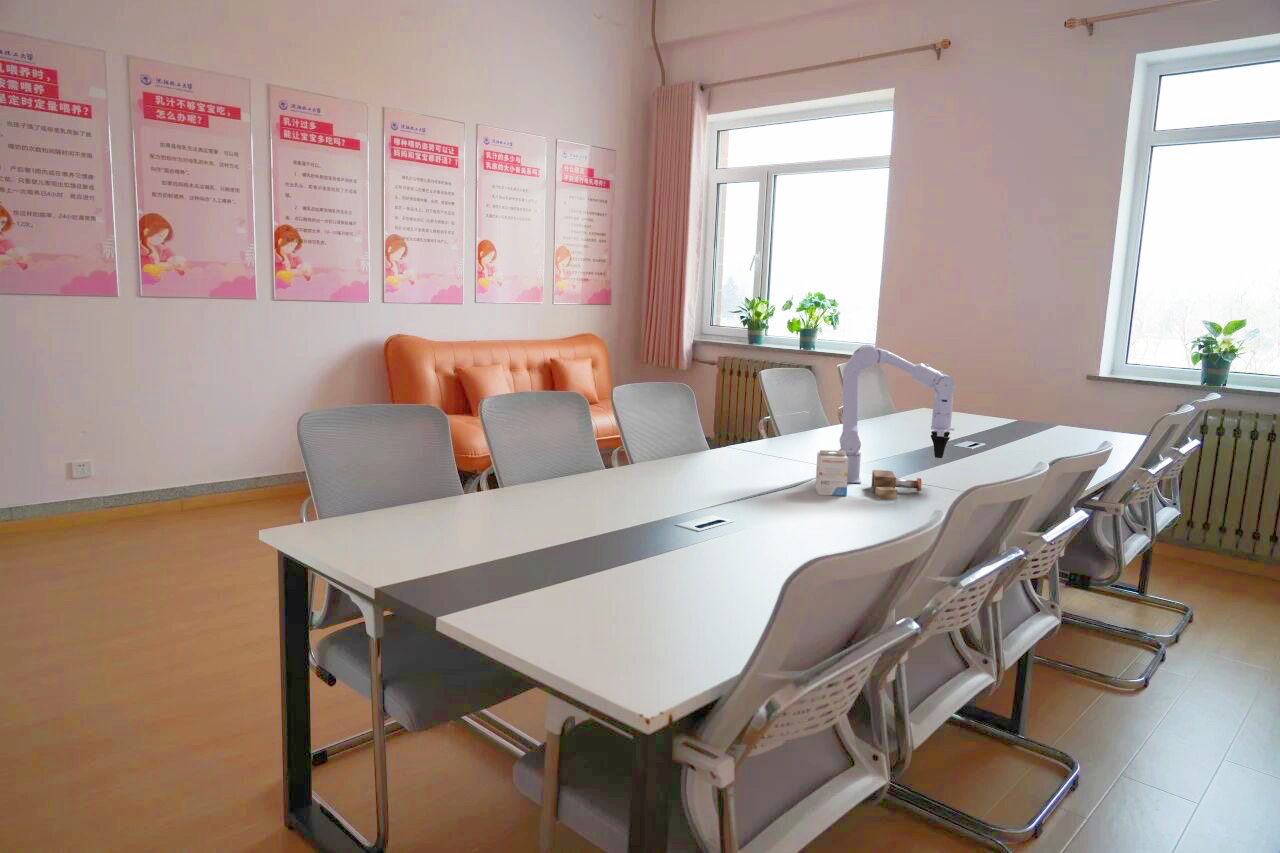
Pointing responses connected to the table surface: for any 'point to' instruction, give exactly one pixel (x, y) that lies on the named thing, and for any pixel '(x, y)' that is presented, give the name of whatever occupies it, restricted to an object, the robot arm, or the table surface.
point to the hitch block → (883, 479)
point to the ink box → (832, 473)
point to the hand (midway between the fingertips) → (938, 455)
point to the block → (885, 492)
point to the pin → (909, 484)
